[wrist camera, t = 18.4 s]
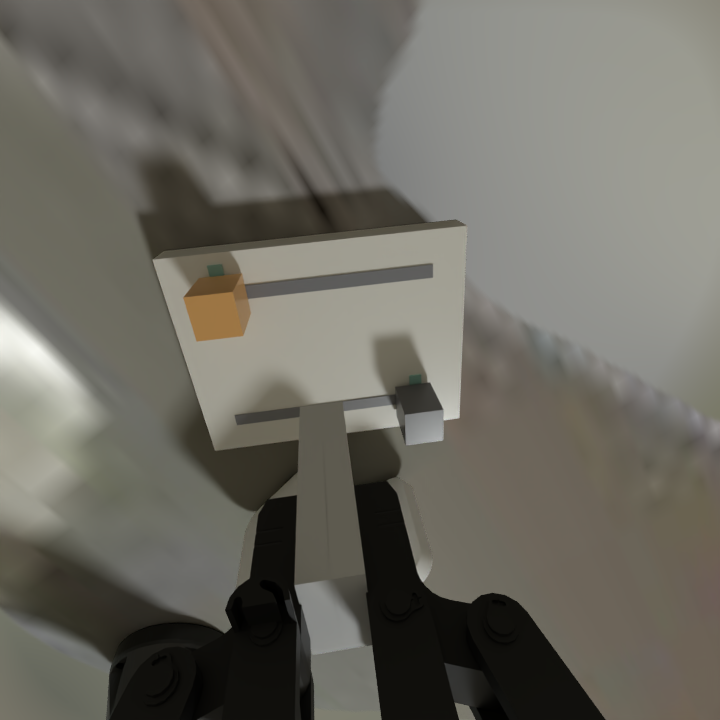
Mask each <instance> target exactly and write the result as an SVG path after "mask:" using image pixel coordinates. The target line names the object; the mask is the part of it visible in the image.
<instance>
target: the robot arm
mask: <svg viewBox="0 0 720 720" xmlns="http://www.w3.org/2000/svg"><path fill="white" fill-rule="evenodd" d="M225 611H226V614H227V616H228V618H229V621H230V623H231V626H232V628H231V629H230V630H229V631H227V632H226V633H225V634H224V635H223V634H221V633H220V632H218V631H215V630H213V629H210V628H207V627H203V626H198V625H192V624H164V625H157V626H152V627H149V628H145V629H142V630H140V631H137V632H135V633H133V634H132V635H130V636H129V637H127V638H126V639H125V640H124V641H123V642H122V643H121V644H120V645H119V647H118V649H117V652H116V654H115V657H114V660H113V662H112V665H111V668H110V674H109V687H108V701H107V716H106V720H314V683H313V678H312V673H311V651H312V655H315V654H321V653H327V652H333V651H339V650H345V649H351V648H357V647H363V646H369V645H372V646H373V654H374V662H375V670H376V678H377V686H378V694H379V702H380V710H381V718H382V720H459V718H458V714H457V710H456V707H455V703H454V702H456V703H460V704H464V705H468V706H469V707H470V709H471V711H472V713H473V715H474V717H475V719H476V720H605V718H604V717H603V716H602V714H601V713H600V711H599V710H598V709H597V707H596V706H595V705H594V703H593V702H592V700H591V699H590V698H589V696H588V695H587V694H586V692H585V691H584V689H583V688H582V687H581V685H580V684H579V683H578V681H577V680H576V678H575V677H574V676H573V674H572V673H571V672H570V670H569V669H568V667H567V666H566V665H565V663H564V662H563V661H562V659H561V658H560V656H559V655H558V654H557V652H556V651H555V650H554V648H553V647H552V645H551V644H550V643H549V641H548V640H547V639H546V637H545V636H544V634H543V633H542V632H541V630H540V629H539V628H538V626H537V625H536V623H535V622H534V621H533V619H532V618H531V617H530V615H529V614H528V612H527V611H526V610H525V609H524V608H523V607H522V606H521V605H520V604H519V603H518V602H517V601H515V600H513V599H511V598H509V597H507V596H506V595H501V594H496V593H490V594H485V595H481V596H480V597H478V598H477V599H476V600H474V601H473V602H472V604H470V603H464V602H459V601H453V600H449V599H445V598H442V597H440V596H438V595H436V594H434V593H432V592H431V591H430V590H429V589H428V588H427V587H426V586H425V585H424V584H423V582H422V581H421V579H420V577H419V575H418V572H417V569H416V565H415V561H414V557H413V553H412V549H411V545H410V541H409V537H408V534H407V530H406V526H405V523H404V518H403V514H402V511H401V506H400V502H399V498H398V494H397V492H396V491H395V490H394V489H393V488H392V486H391V485H390V484H389V483H388V482H387V481H383V482H376V483H370V484H363V485H356V486H354V484H353V477H352V469H351V462H350V454H349V447H348V439H347V432H346V424H345V417H344V409H343V402H342V401H340V402H333V403H325V404H318V405H310V406H303V407H300V418H299V450H298V483H297V495H294V496H287V497H280V498H274V499H267V501H266V502H265V504H264V506H263V507H262V509H261V511H260V512H259V514H258V519H257V527H256V534H255V542H254V549H253V557H252V564H251V572H250V579H248V580H247V581H245V582H244V583H242V584H241V585H240V586H238V587H237V589H236V590H235V591H234V593H233V594H232V595H231V596H230V598H229V601H228V603H227V606H226V609H225Z"/></svg>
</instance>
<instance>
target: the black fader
mask: <svg viewBox="0 0 720 720" xmlns="http://www.w3.org/2000/svg"><path fill="white" fill-rule="evenodd" d="M395 394H396V415H397V419H398V422H399V425H400V428H401V431H402V435H403V438H404V441H405V444H406V445H413V444H421V443H428V442H435V441H443V417H444V409H443V407H442V405H441V403H440V401H439V399H438V397H437V395H436V393H435V391H434V389H433V387H432V385H431V383H430V382H429V383H421V384H414V385H406V386H398V387H395Z"/></svg>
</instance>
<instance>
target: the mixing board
mask: <svg viewBox="0 0 720 720" xmlns="http://www.w3.org/2000/svg"><path fill="white" fill-rule="evenodd" d="M466 242H467V225H465V224H463V223H462V222H460V221H458V220H448V221H439V222H429V223H420V224H411V225H401V226H392V227H383V228H373V229H364V230H355V231H346V232H336V233H327V234H318V235H308V236H299V237H290V238H280V239H271V240H262V241H253V242H243V243H234V244H225V245H215V246H206V247H197V248H187V249H178V250H169V251H163V252H162V253H161V254H159V255H158V256H157V257H155V258H154V259H153V263H154V266H155V269H156V272H157V275H158V278H159V282H160V285H161V288H162V291H163V294H164V297H165V300H166V303H167V306H168V309H169V312H170V315H171V318H172V321H173V324H174V327H175V330H176V333H177V336H178V339H179V342H180V345H181V349H182V352H183V355H184V358H185V361H186V364H187V367H188V370H189V373H190V376H191V379H192V382H193V385H194V388H195V391H196V394H197V397H198V400H199V403H200V406H201V409H202V412H203V416H204V419H205V422H206V425H207V428H208V431H209V434H210V437H211V440H212V443H213V446H214V449H215V451H218V450H226V449H233V448H241V447H248V446H256V445H263V444H270V443H278V442H285V441H293V440H299V418H300V407H303V406H310V405H318V404H325V403H333V402H340V401H342V402H343V409H344V417H345V424H346V432H347V433H352V432H360V431H367V430H374V429H382V428H389V427H397V426H400V425H399V422H398V419H397V415H396V394H395V387H398V386H406V385H414V384H421V383H429V382H430V383H431V385H432V387H433V389H434V391H435V393H436V395H437V397H438V399H439V401H440V403H441V405H442V407H443V409H444V417H443V420H449V419H456V418H459V412H460V388H461V364H462V340H463V316H464V292H465V268H466V267H465V266H466ZM241 273H242V275H243V280H244V284H245V288H246V293H247V297H248V302H249V306H250V311H251V315H250V318H249V321H248V324H247V327H246V330H245V333H244V336H240V337H231V338H223V339H215V340H206V341H198V342H197V341H196V338H195V335H194V332H193V328H192V325H191V322H190V319H189V315H188V312H187V309H186V305H185V302H184V299H183V297H184V296H185V295H186V293H187V292H188V291H189V290H190V288H191V287H192V286H193V285H194V283H195V282H196V281H197V280H198V278H205V277H214V276H223V275H232V274H241Z"/></svg>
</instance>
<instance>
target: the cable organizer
mask: <svg viewBox="0 0 720 720" xmlns="http://www.w3.org/2000/svg"><path fill="white" fill-rule="evenodd" d="M387 482H388V483H389V484H390V485H391V486H392V488H393V489H394V490H395V491H396V492H397V494H398V498H399V502H400V506H401V511H402V514H403V518H404V523H405V526H406V530H407V534H408V537H409V541H410V545H411V549H412V553H413V557H414V561H415V565H416V569H417V572H418V575H419V577H420V579H421V581H422V582H424V580H425V579H426V578H427V576H428V574H429V572H430V570H431V567H432V563H433V555H432V551H431V547H430V544H429V541H428V537H427V534H426V530H425V527H424V524H423V520H422V517H421V514H420V510H419V507H418V503H417V500H416V497H415V493H414V490H413V487H412V486H411V485H410V484H408V483H406V482H405V481H403V480H402V479H400V478H398V477H394V478H391V479H389V480H387ZM297 483H298V472H297V473H296V474H295V475H294V476H293V477H292V478H291V479H290V480H289V481H288V482H287V483H285V484H284V485H283V486H282V487H281V488H280V489H279V490H278V491H277V492H276V493H275V494H274V495H273V496H272V497H271V498H270V499H274V498H280V497H287V496H294V495H297ZM263 506H264V505H263ZM263 506H261V507H260V508H259V509H258V511H257V512H256V513H255V514H254V515H253V517H252V518H251V520H250V522H249V524H248V526H247V528H246V531H245V535H244V541H243V548H242V554H241V560H240V566H239V572H238V578H237V584H236V589H237V587H238V586H240V585H241V584H242V583H244V582H245V581H247V580H248V579H250V572H251V564H252V557H253V549H254V542H255V534H256V527H257V519H258V514H259V512H260V511H261V509H262V507H263Z"/></svg>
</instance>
